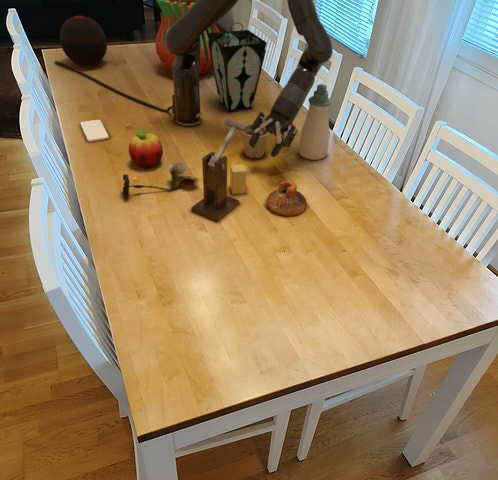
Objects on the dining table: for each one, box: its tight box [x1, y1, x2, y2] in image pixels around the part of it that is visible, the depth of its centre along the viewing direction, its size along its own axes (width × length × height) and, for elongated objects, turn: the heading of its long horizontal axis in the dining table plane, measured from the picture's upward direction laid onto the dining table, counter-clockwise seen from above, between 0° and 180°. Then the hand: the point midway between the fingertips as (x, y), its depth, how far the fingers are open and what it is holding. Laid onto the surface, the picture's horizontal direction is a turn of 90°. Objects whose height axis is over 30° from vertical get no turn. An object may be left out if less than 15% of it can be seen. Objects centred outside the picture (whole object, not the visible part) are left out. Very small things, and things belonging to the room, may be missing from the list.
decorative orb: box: [59, 15, 108, 67], centre depth 206 cm, size 20×20×20 cm
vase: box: [155, 0, 220, 76], centre depth 202 cm, size 30×30×30 cm
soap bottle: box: [298, 83, 332, 161], centre depth 149 cm, size 10×10×23 cm
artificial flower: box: [122, 161, 199, 199], centre depth 135 cm, size 9×22×10 cm, turn 108°
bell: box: [265, 180, 308, 217], centre depth 131 cm, size 12×12×7 cm
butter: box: [229, 163, 247, 195], centre depth 136 cm, size 4×4×8 cm
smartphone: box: [80, 119, 110, 143], centre depth 163 cm, size 7×1×15 cm
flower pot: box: [241, 123, 270, 159], centre depth 153 cm, size 9×9×9 cm
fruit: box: [128, 128, 164, 168], centre depth 145 cm, size 11×11×10 cm
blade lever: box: [208, 119, 248, 170], centre depth 122 cm, size 14×7×2 cm
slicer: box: [190, 151, 240, 223], centre depth 126 cm, size 11×9×16 cm
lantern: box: [207, 22, 268, 113], centre depth 174 cm, size 17×17×30 cm
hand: (261, 151), depth 138 cm, fingers open, 8 cm apart
